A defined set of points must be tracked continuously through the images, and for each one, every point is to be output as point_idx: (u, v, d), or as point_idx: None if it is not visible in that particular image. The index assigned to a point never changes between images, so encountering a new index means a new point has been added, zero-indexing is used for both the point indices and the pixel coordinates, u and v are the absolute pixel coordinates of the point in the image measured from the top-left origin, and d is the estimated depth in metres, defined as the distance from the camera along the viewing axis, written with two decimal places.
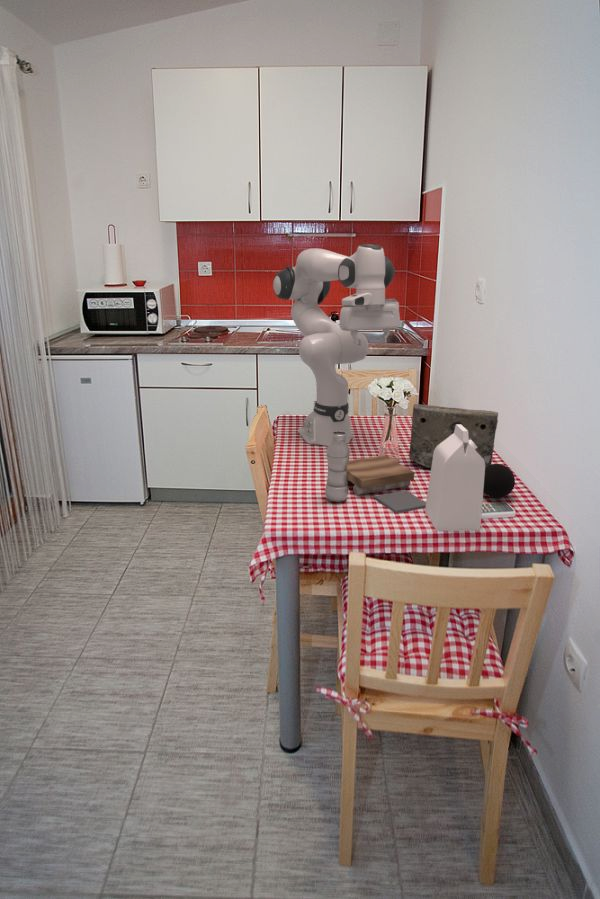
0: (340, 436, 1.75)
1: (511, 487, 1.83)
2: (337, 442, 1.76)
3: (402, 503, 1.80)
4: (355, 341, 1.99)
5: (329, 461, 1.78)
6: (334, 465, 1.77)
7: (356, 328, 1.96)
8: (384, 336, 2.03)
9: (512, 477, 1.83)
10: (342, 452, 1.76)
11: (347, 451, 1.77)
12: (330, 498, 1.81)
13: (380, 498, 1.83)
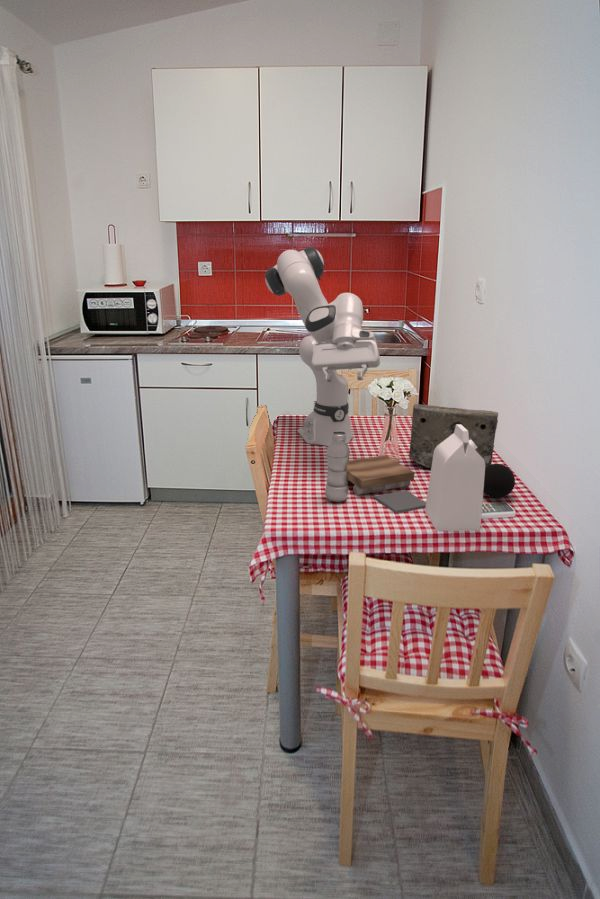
0: (340, 436, 1.75)
1: (511, 487, 1.83)
2: (337, 442, 1.76)
3: (402, 503, 1.80)
4: (362, 375, 1.87)
5: (329, 461, 1.78)
6: (334, 465, 1.77)
7: None
8: None
9: (512, 477, 1.83)
10: (342, 452, 1.76)
11: (347, 451, 1.77)
12: (330, 498, 1.81)
13: (380, 498, 1.83)
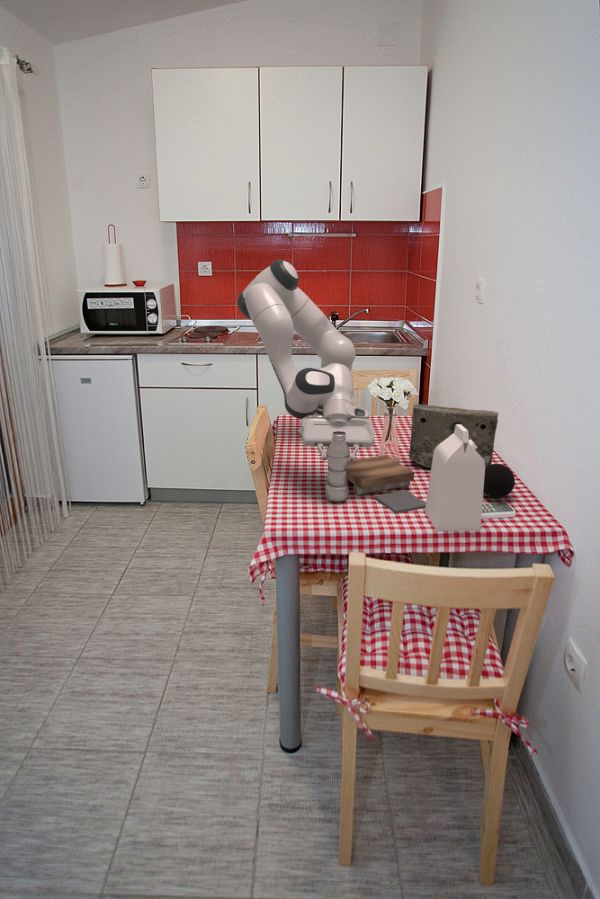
0: (340, 435, 1.75)
1: (511, 487, 1.83)
2: (337, 442, 1.76)
3: (402, 503, 1.80)
4: (354, 456, 1.79)
5: (329, 461, 1.78)
6: (334, 465, 1.77)
7: None
8: None
9: (512, 477, 1.83)
10: (342, 452, 1.76)
11: (347, 451, 1.77)
12: (330, 498, 1.81)
13: (380, 498, 1.83)
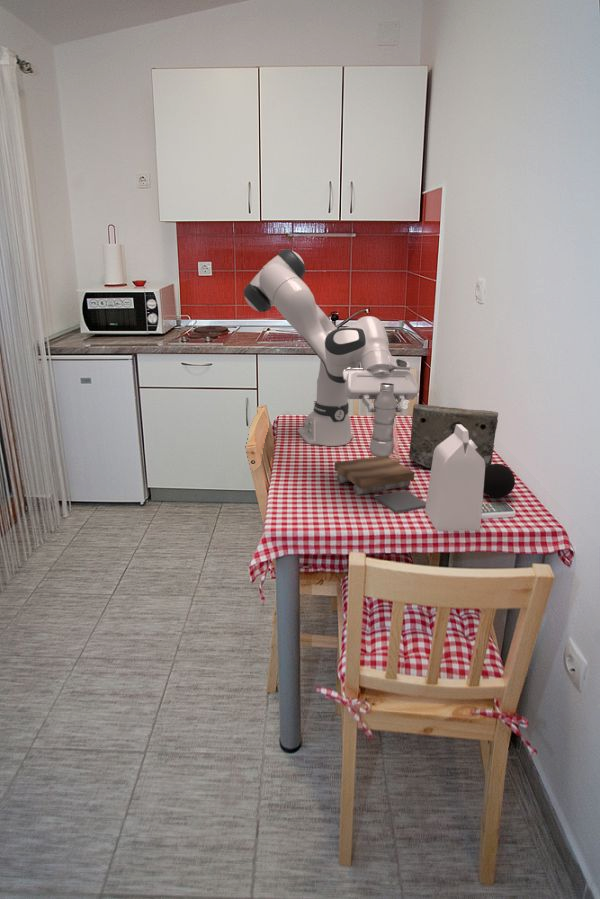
0: (390, 386, 1.69)
1: (511, 487, 1.83)
2: (386, 393, 1.69)
3: (402, 503, 1.80)
4: None
5: (378, 414, 1.70)
6: (383, 418, 1.70)
7: None
8: None
9: (512, 477, 1.83)
10: (392, 403, 1.69)
11: (396, 403, 1.71)
12: (378, 453, 1.73)
13: (380, 498, 1.83)
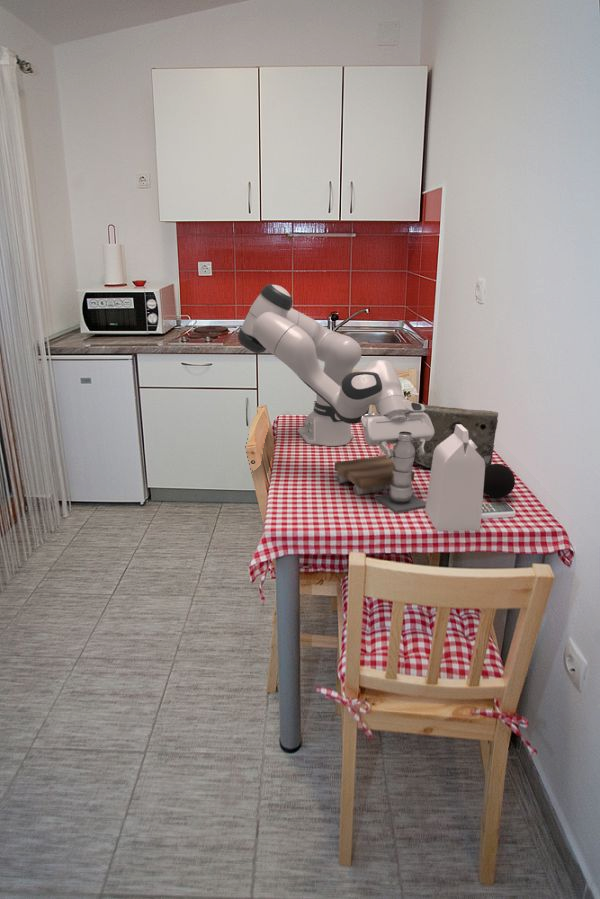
0: (408, 436, 1.74)
1: (511, 487, 1.83)
2: (405, 442, 1.74)
3: (402, 503, 1.80)
4: None
5: (398, 462, 1.76)
6: (403, 466, 1.75)
7: None
8: None
9: (512, 477, 1.83)
10: (411, 452, 1.75)
11: (414, 450, 1.76)
12: (398, 500, 1.79)
13: (380, 498, 1.83)
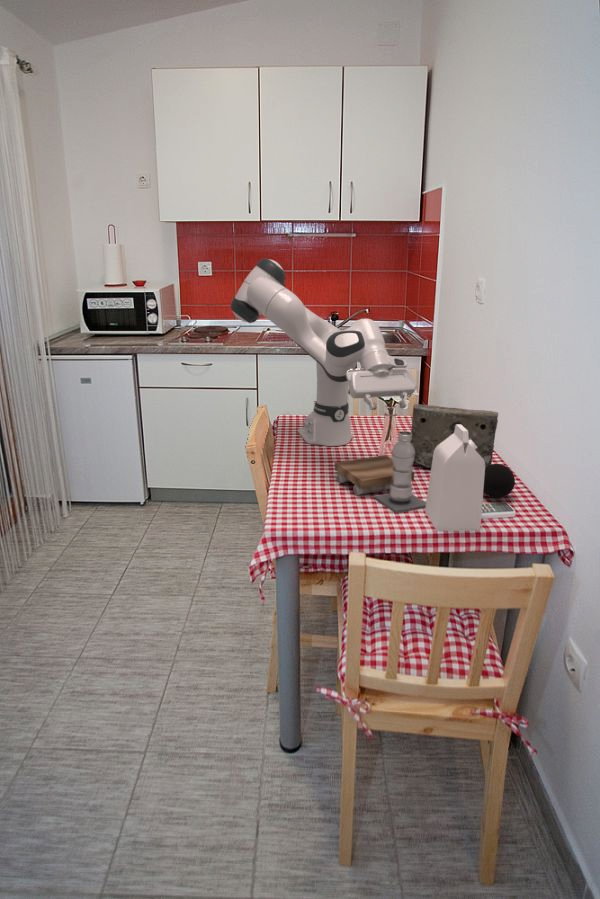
0: (408, 436, 1.74)
1: (511, 487, 1.83)
2: (405, 442, 1.75)
3: (402, 503, 1.80)
4: None
5: (398, 462, 1.76)
6: (403, 466, 1.75)
7: None
8: None
9: (512, 477, 1.83)
10: (411, 452, 1.75)
11: (414, 450, 1.76)
12: (398, 499, 1.79)
13: (380, 498, 1.83)
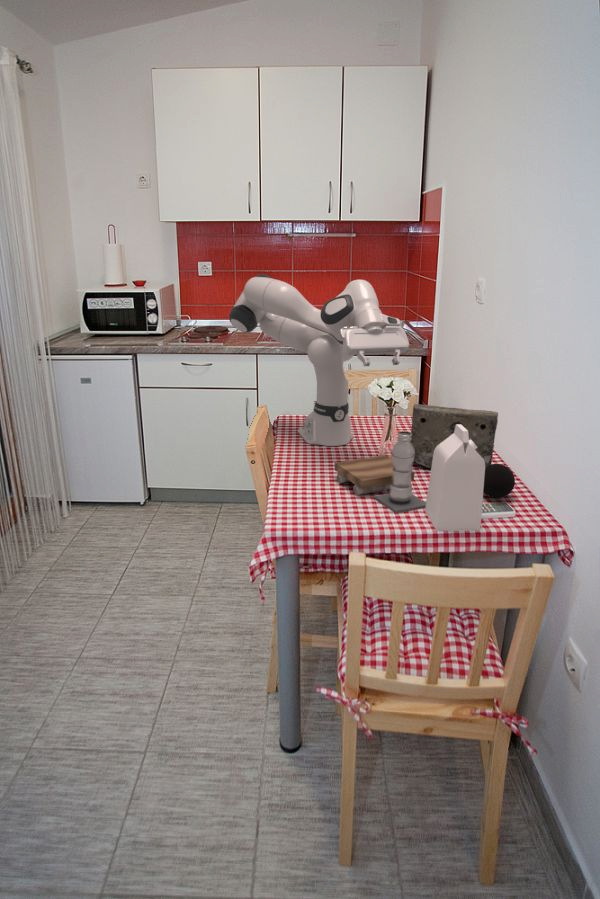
0: (408, 436, 1.74)
1: (511, 487, 1.83)
2: (405, 442, 1.74)
3: (402, 503, 1.80)
4: None
5: (397, 462, 1.76)
6: (403, 466, 1.75)
7: None
8: None
9: (512, 477, 1.83)
10: (411, 452, 1.75)
11: (414, 450, 1.76)
12: (398, 500, 1.79)
13: (380, 498, 1.83)
